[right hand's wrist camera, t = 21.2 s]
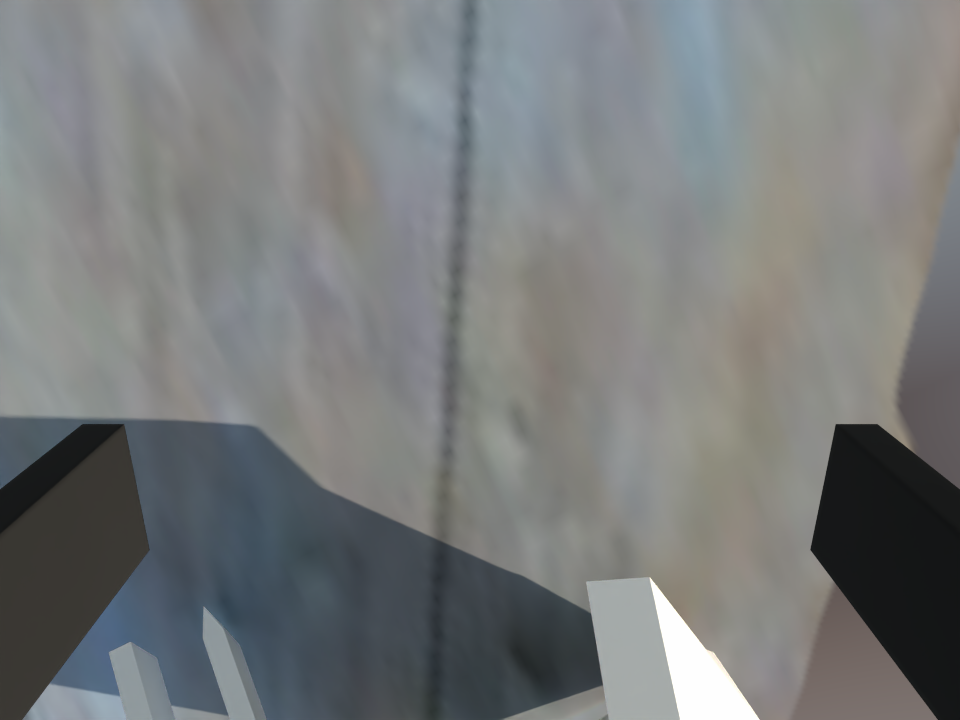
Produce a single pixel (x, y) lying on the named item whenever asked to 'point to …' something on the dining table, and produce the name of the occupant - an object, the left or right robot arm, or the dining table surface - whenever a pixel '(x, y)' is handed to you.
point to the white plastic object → (620, 644)
